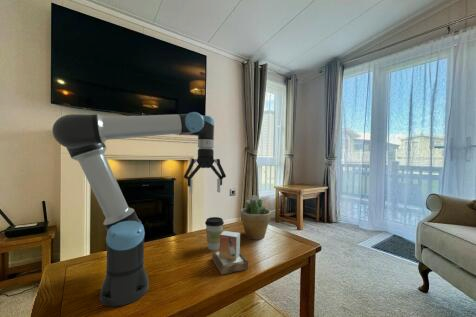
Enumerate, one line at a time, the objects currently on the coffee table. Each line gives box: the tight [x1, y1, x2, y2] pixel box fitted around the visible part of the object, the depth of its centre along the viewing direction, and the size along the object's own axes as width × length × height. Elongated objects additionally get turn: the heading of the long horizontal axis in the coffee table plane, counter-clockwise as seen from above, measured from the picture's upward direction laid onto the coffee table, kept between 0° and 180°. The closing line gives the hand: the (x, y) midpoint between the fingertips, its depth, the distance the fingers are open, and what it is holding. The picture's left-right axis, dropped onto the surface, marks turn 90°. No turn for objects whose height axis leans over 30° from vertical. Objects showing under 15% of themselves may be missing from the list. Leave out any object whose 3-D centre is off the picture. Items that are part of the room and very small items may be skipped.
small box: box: [218, 230, 241, 261], centre depth 94 cm, size 8×6×10 cm
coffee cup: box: [204, 216, 225, 251], centre depth 110 cm, size 10×10×15 cm
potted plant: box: [240, 194, 272, 241], centre depth 127 cm, size 18×19×25 cm
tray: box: [211, 250, 249, 275], centre depth 94 cm, size 12×14×4 cm
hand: (205, 192), depth 100 cm, fingers open, 13 cm apart
